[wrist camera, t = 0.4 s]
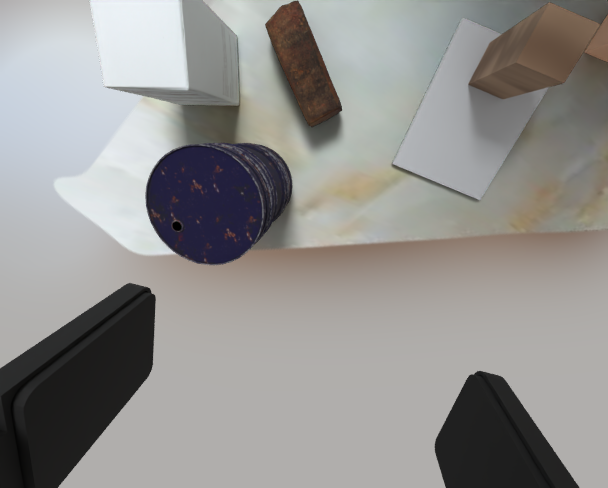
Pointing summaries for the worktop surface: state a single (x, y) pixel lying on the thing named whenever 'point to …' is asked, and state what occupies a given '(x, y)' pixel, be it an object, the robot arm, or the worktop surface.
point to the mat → (464, 120)
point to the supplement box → (167, 51)
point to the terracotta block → (599, 42)
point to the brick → (303, 63)
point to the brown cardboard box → (534, 53)
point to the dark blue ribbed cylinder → (216, 199)
